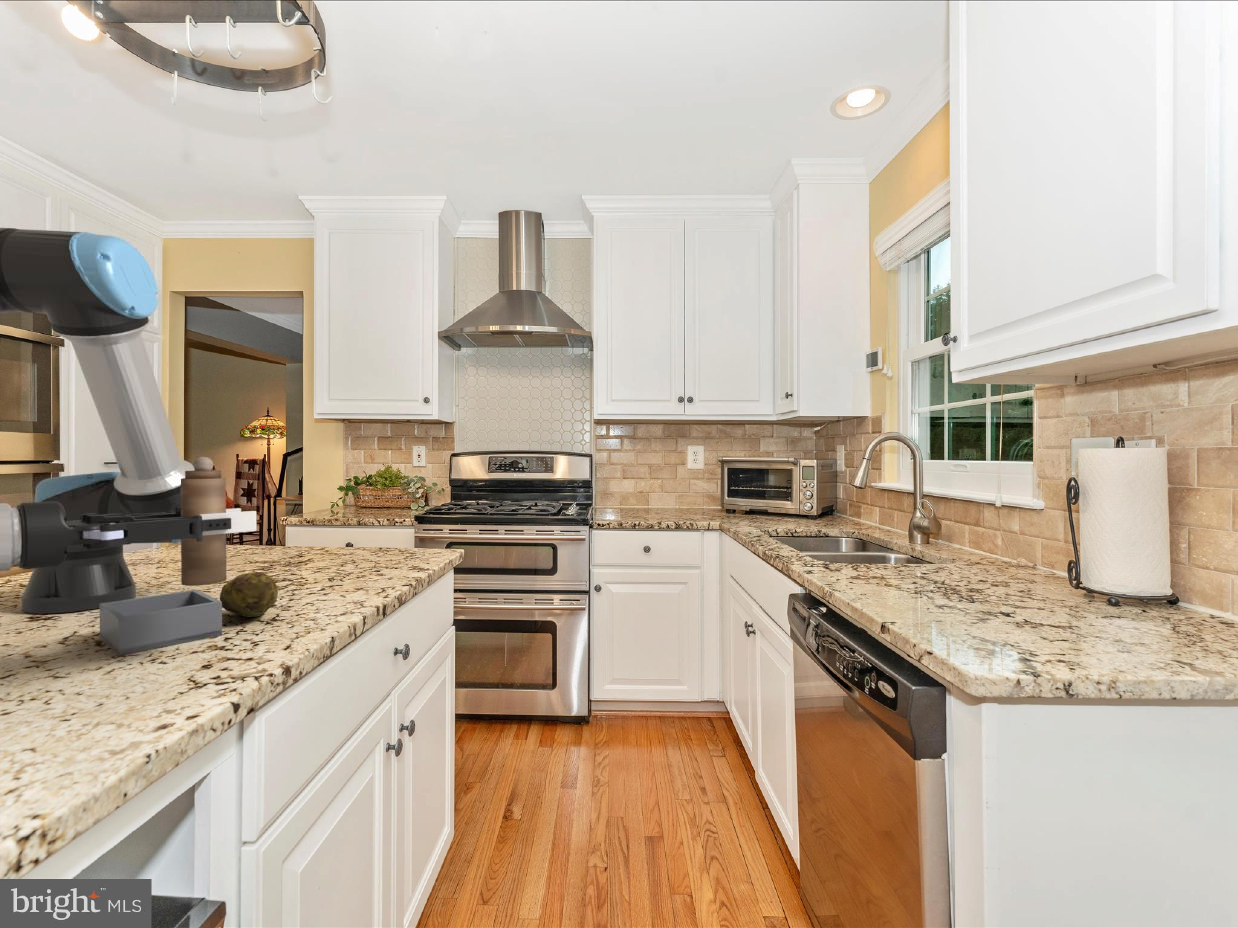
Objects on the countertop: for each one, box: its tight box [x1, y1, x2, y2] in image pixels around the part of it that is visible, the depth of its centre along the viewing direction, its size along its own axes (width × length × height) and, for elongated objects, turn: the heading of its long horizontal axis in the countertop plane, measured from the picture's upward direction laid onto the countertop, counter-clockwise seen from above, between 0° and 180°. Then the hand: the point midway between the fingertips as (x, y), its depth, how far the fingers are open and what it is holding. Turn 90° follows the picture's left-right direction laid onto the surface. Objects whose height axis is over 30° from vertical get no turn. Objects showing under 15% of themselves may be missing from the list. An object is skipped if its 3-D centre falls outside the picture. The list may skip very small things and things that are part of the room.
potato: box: [219, 571, 279, 618], centre depth 98 cm, size 8×13×8 cm, turn 31°
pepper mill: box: [180, 456, 227, 587], centre depth 80 cm, size 5×5×17 cm
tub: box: [99, 589, 223, 657], centre depth 88 cm, size 12×12×5 cm
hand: (247, 519), depth 84 cm, fingers closed on pepper mill, 5 cm apart
